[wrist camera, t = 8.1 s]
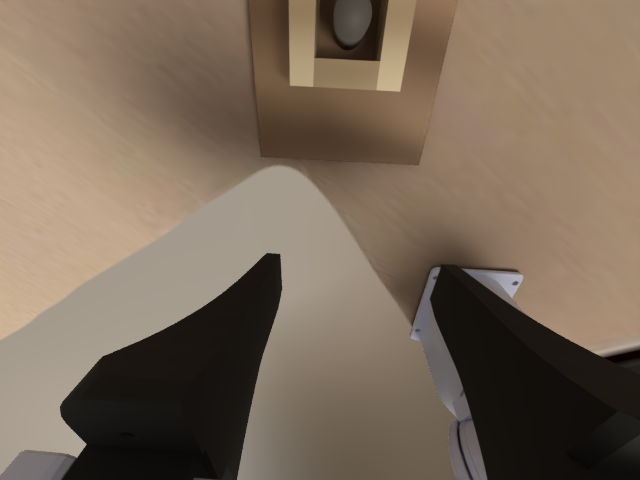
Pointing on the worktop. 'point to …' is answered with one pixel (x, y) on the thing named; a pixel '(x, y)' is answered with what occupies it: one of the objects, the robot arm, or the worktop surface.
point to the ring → (350, 73)
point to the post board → (346, 104)
